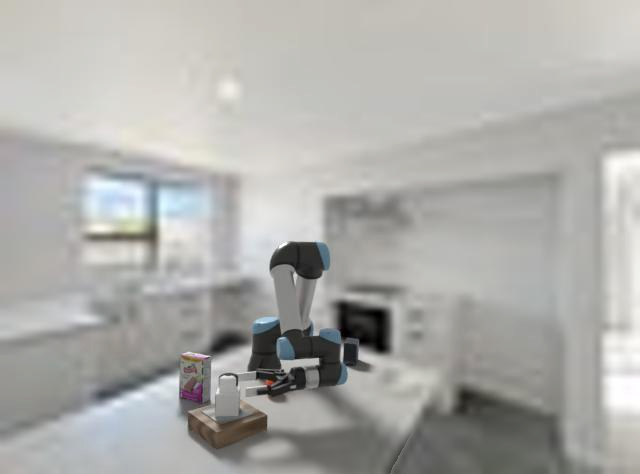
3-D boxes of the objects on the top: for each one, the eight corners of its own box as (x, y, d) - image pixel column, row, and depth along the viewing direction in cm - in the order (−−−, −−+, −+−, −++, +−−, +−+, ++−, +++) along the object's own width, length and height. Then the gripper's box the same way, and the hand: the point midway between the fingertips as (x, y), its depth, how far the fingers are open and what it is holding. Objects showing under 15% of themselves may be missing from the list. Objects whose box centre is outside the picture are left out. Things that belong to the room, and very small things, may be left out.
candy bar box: (178, 398, 161) (178, 354, 161) (187, 393, 166) (188, 350, 165) (202, 404, 156) (203, 359, 156) (211, 399, 161) (212, 355, 160)
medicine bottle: (217, 407, 142) (218, 370, 141) (240, 407, 142) (240, 370, 142) (214, 417, 134) (215, 378, 134) (238, 416, 135) (239, 378, 135)
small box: (356, 366, 204) (357, 344, 204) (342, 364, 205) (343, 342, 205) (358, 359, 214) (359, 338, 214) (345, 358, 216) (346, 337, 215)
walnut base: (187, 426, 139) (188, 410, 139) (236, 411, 151) (236, 396, 151) (216, 449, 126) (216, 431, 126) (267, 430, 138) (267, 414, 138)
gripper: (316, 403, 136) (249, 412, 128) (291, 376, 159) (233, 382, 151) (317, 379, 136) (250, 386, 128) (291, 356, 159) (233, 361, 151)
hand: (240, 384), depth 139 cm, fingers open, 13 cm apart
